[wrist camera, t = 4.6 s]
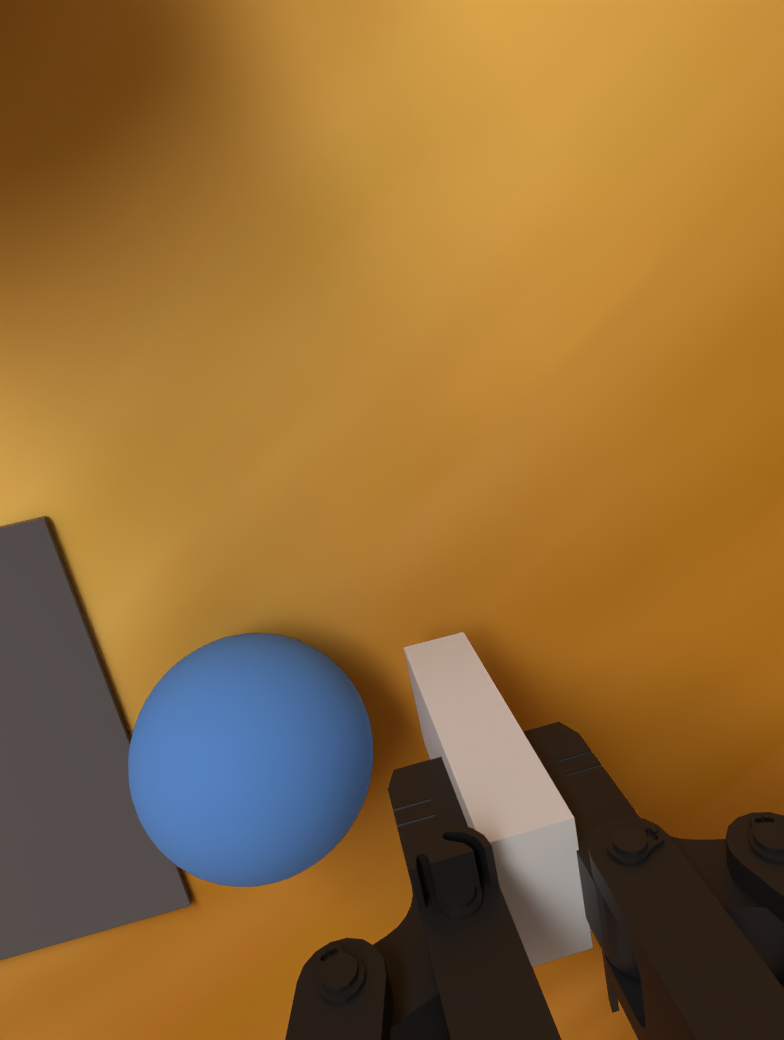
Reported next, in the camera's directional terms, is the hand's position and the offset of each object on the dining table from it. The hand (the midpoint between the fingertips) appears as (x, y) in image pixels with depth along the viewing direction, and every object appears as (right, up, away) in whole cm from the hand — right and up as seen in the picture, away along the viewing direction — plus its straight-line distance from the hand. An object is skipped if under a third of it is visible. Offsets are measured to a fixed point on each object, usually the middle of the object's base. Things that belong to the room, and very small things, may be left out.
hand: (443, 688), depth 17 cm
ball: (-4, -1, -1) cm, 5 cm away
